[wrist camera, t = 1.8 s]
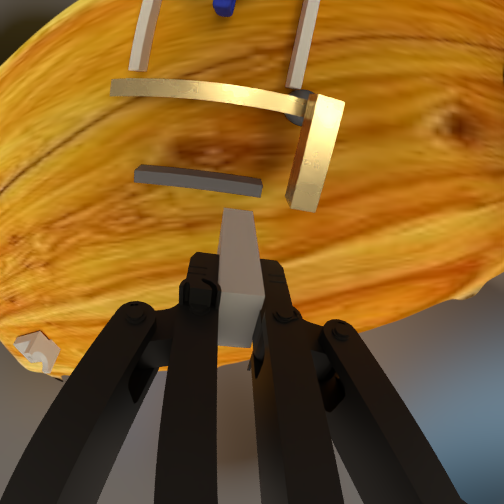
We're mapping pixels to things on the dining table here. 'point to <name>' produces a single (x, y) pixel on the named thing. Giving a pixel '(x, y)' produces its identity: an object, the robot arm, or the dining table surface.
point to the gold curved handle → (313, 110)
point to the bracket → (38, 349)
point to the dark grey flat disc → (300, 94)
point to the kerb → (198, 180)
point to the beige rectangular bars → (299, 53)
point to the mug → (224, 7)
